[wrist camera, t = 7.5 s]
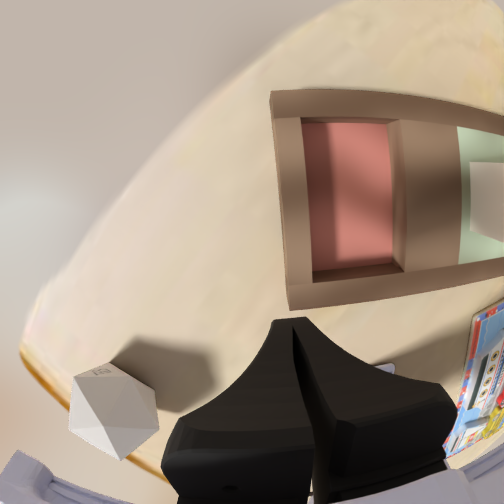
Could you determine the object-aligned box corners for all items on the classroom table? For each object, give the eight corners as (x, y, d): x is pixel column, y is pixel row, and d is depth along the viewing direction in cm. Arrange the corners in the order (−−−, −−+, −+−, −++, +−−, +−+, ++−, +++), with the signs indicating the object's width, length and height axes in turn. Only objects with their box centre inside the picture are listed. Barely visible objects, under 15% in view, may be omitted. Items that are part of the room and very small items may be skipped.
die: (138, 335, 22) (40, 371, 15) (195, 419, 20) (96, 473, 12) (126, 367, 27) (51, 396, 20) (169, 432, 24) (95, 472, 17)
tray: (528, 258, 19) (543, 264, 16) (286, 295, 20) (289, 310, 18) (529, 132, 15) (544, 131, 13) (269, 101, 17) (270, 91, 14)
